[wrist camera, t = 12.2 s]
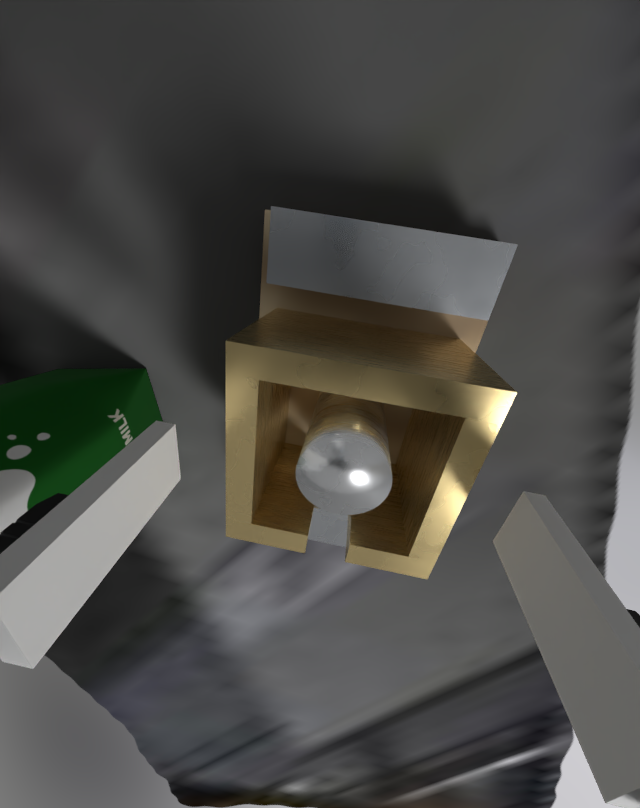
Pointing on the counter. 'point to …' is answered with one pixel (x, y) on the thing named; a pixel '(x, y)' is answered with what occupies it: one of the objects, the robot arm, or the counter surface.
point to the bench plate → (358, 311)
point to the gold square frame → (371, 380)
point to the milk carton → (66, 430)
